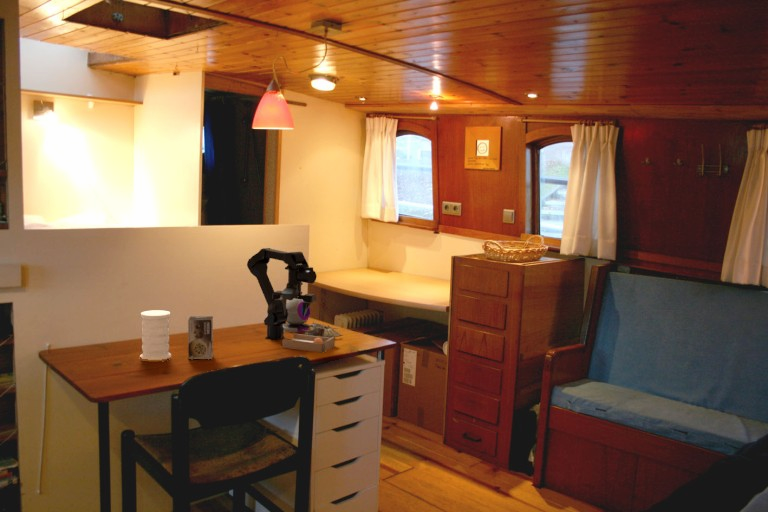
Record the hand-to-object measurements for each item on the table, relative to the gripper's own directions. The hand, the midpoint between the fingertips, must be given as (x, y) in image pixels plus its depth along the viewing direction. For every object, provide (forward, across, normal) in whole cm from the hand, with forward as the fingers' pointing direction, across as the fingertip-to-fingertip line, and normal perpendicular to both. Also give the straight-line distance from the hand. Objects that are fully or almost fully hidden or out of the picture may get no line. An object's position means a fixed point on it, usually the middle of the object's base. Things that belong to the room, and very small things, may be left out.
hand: (293, 315), depth 287 cm
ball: (+10, +13, -3) cm, 17 cm away
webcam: (+12, -10, +24) cm, 29 cm away
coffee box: (+12, -22, -38) cm, 46 cm away
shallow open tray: (+12, +9, -4) cm, 15 cm away
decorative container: (+12, -37, -46) cm, 60 cm away
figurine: (+12, +8, +17) cm, 22 cm away
